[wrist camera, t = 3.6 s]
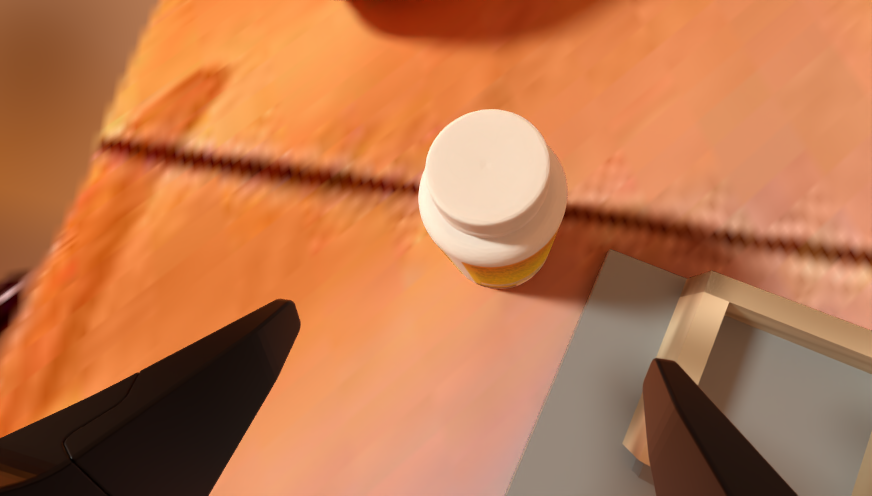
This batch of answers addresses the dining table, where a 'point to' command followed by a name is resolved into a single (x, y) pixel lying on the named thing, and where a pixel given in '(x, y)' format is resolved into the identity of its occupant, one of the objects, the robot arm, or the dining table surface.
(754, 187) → the dining table surface
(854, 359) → the end holder
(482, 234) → the supplement bottle
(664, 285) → the board
